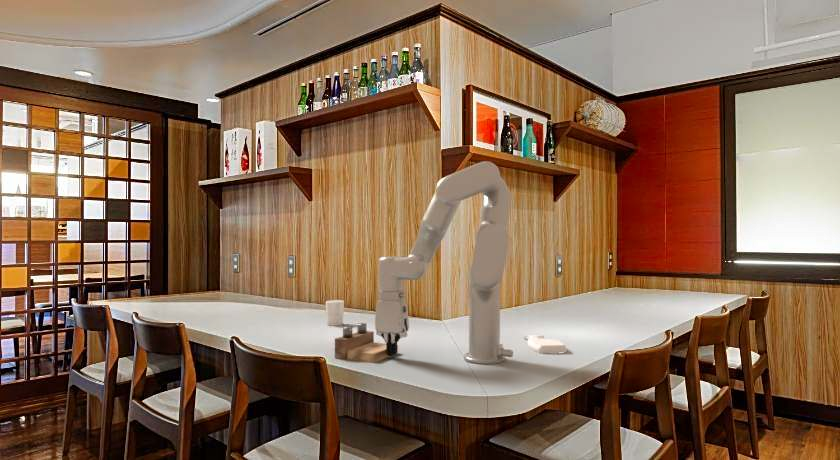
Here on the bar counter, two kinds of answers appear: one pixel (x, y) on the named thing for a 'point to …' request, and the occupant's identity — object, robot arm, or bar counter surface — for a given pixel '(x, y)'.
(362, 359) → the oak plate
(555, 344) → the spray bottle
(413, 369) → the bar counter surface
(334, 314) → the white cup
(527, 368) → the bar counter surface
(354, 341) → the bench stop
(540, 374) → the bar counter surface
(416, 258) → the robot arm
